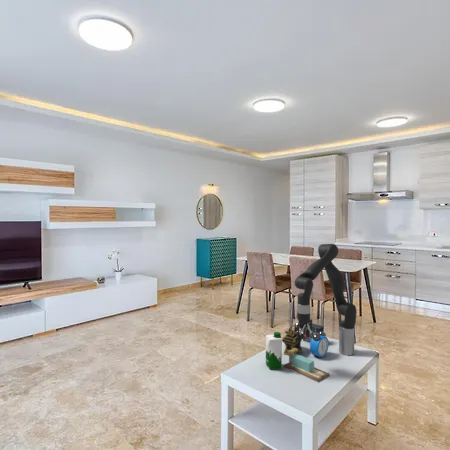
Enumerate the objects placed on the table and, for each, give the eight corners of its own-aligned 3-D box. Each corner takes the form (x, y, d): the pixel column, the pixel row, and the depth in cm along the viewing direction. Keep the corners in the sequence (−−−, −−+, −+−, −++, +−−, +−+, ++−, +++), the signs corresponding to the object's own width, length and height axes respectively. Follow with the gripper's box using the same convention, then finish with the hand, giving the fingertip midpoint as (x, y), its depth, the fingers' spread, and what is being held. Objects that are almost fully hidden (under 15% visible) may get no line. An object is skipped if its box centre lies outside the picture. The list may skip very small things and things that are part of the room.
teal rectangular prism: (296, 362, 192) (297, 354, 191) (314, 369, 182) (314, 361, 182) (291, 364, 188) (291, 356, 188) (308, 372, 179) (309, 363, 179)
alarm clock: (317, 360, 197) (317, 336, 197) (309, 357, 202) (309, 333, 201) (328, 354, 206) (329, 331, 205) (320, 351, 210) (320, 329, 210)
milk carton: (283, 369, 185) (283, 335, 185) (268, 370, 183) (269, 336, 183) (277, 362, 194) (278, 330, 193) (263, 364, 192) (264, 331, 191)
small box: (302, 340, 229) (302, 324, 228) (306, 337, 234) (306, 321, 234) (319, 345, 220) (320, 328, 220) (323, 342, 225) (324, 325, 225)
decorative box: (291, 346, 219) (291, 317, 218) (304, 349, 213) (305, 320, 212) (278, 356, 203) (278, 325, 202) (292, 360, 197) (292, 329, 196)
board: (295, 361, 196) (295, 346, 196) (328, 375, 178) (329, 359, 178) (284, 366, 189) (284, 351, 188) (317, 382, 171) (318, 365, 171)
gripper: (305, 307, 192) (305, 334, 192) (290, 312, 183) (290, 340, 183) (316, 310, 186) (316, 337, 187) (301, 315, 177) (301, 344, 177)
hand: (303, 339), depth 185 cm, fingers open, 8 cm apart
